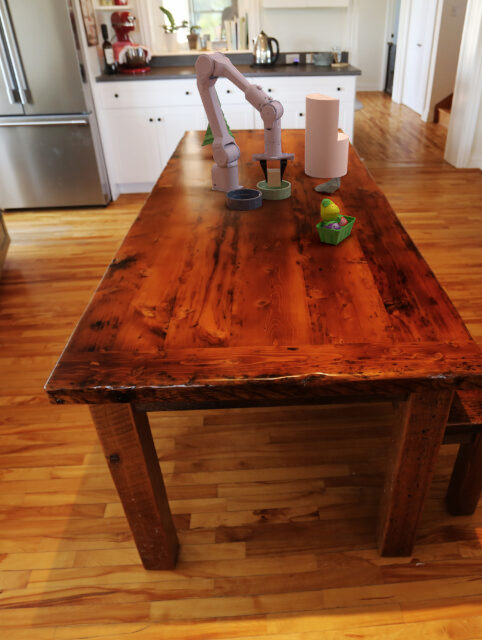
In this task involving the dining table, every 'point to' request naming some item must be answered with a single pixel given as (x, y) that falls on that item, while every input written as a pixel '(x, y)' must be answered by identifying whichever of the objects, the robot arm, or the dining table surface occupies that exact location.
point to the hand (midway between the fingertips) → (273, 181)
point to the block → (273, 177)
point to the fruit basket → (333, 223)
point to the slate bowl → (243, 199)
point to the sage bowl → (274, 190)
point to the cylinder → (324, 138)
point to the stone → (329, 186)
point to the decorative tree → (209, 135)
